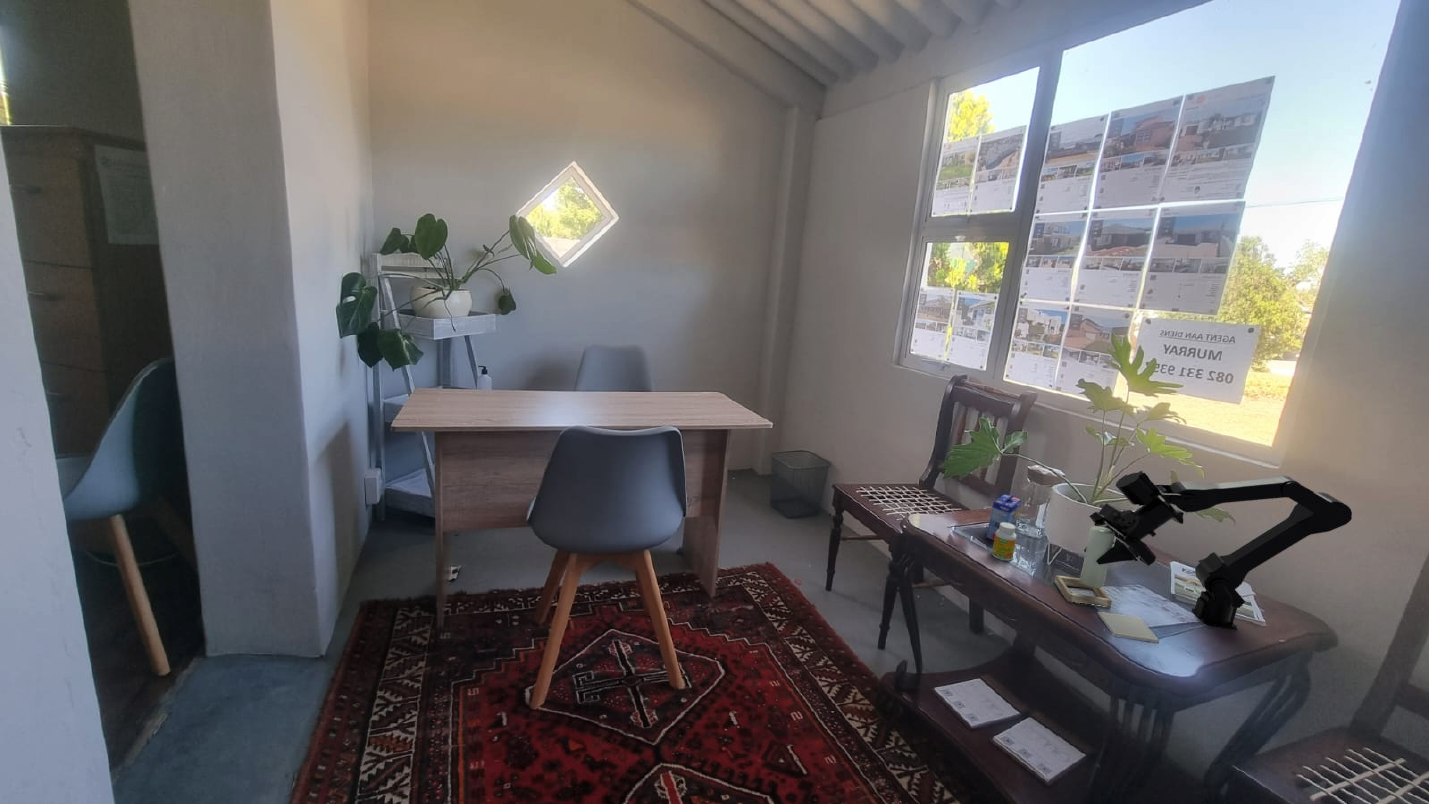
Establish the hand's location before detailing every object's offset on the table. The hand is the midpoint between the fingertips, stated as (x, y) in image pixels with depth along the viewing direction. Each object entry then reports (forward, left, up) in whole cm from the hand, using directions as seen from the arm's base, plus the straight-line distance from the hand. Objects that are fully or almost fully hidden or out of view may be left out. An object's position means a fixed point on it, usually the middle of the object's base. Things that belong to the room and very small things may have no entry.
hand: (1091, 557), depth 144 cm
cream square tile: (-6, +11, -11) cm, 17 cm away
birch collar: (-1, -2, -11) cm, 12 cm away
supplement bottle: (+14, -18, -12) cm, 26 cm away
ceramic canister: (-1, 0, -7) cm, 7 cm away
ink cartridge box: (+11, -32, -12) cm, 36 cm away
